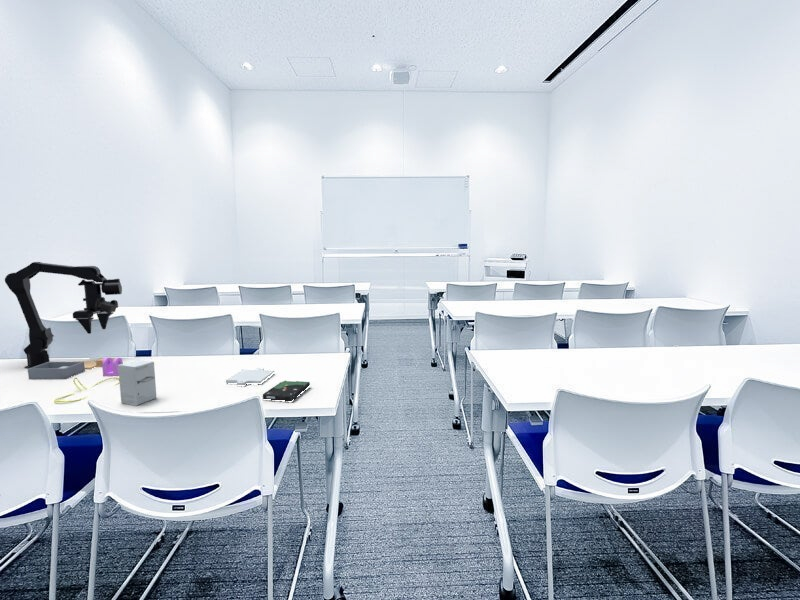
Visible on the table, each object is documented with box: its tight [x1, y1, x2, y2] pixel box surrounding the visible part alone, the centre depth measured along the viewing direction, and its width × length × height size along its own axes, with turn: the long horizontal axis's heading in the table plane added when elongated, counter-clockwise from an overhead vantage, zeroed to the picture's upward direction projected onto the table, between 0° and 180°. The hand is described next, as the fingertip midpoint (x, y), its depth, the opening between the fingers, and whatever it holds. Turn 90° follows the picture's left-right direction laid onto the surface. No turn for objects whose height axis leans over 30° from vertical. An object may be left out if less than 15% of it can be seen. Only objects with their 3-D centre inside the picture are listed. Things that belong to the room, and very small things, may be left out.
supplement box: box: [118, 359, 157, 407], centre depth 140 cm, size 7×7×13 cm
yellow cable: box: [53, 377, 120, 403], centre depth 151 cm, size 25×10×5 cm, turn 173°
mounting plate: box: [225, 367, 275, 386], centre depth 163 cm, size 18×13×2 cm
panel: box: [27, 361, 86, 380], centre depth 168 cm, size 14×10×4 cm
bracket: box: [101, 357, 124, 377], centre depth 173 cm, size 13×6×7 cm, turn 176°
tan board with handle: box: [72, 357, 114, 370], centre depth 181 cm, size 20×11×3 cm, turn 90°
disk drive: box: [262, 380, 311, 401], centre depth 147 cm, size 10×3×15 cm
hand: (96, 331), depth 188 cm, fingers open, 9 cm apart
